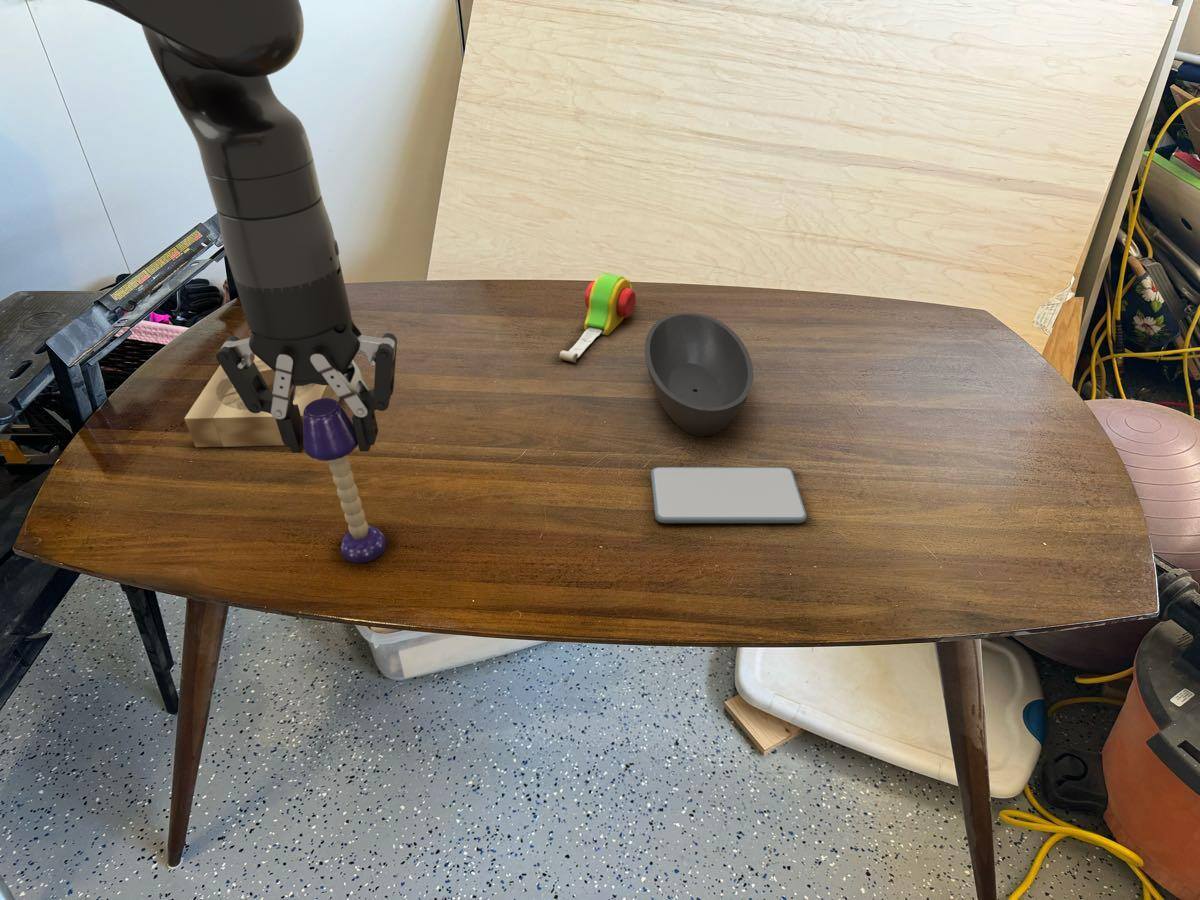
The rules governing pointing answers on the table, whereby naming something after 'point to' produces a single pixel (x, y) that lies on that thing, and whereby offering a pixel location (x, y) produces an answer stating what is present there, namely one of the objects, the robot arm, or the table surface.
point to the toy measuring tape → (603, 310)
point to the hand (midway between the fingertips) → (333, 445)
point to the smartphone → (726, 495)
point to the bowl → (698, 371)
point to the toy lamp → (341, 474)
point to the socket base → (241, 412)
